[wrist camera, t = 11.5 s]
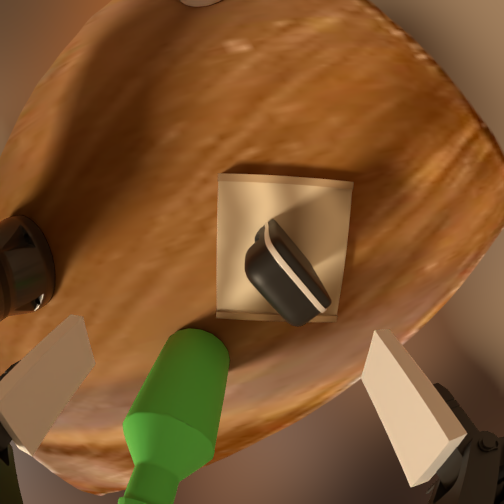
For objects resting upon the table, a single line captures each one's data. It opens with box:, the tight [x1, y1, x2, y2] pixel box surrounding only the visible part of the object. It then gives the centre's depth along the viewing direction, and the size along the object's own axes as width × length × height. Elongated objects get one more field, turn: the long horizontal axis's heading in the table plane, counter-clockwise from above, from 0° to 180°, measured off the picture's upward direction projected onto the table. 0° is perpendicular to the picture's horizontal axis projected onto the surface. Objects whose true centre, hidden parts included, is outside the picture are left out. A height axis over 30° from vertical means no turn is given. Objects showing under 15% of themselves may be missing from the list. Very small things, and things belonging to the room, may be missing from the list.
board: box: [216, 173, 354, 322], centre depth 30 cm, size 14×16×2 cm
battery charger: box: [245, 219, 332, 327], centre depth 24 cm, size 7×4×11 cm, turn 41°
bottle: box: [118, 328, 230, 504], centre depth 23 cm, size 9×9×25 cm
